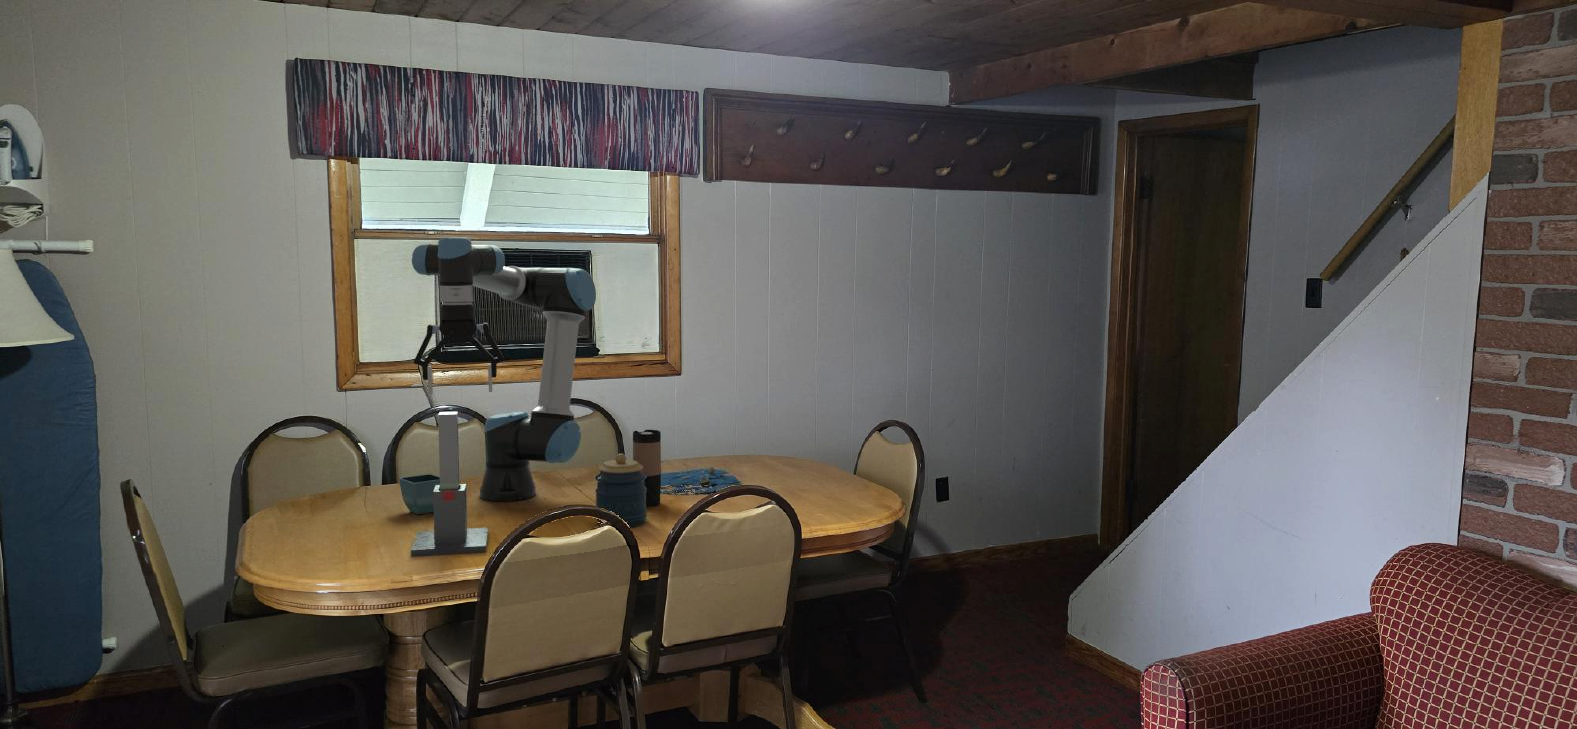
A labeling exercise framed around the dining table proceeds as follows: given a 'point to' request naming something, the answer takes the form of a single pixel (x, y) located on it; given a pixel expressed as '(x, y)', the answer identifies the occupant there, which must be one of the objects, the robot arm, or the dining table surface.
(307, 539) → the dining table surface
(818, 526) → the dining table surface
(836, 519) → the dining table surface
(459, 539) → the jack stand base
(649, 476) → the travel mug
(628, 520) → the canister
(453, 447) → the stand post
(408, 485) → the flower pot
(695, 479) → the ocean terrain model
